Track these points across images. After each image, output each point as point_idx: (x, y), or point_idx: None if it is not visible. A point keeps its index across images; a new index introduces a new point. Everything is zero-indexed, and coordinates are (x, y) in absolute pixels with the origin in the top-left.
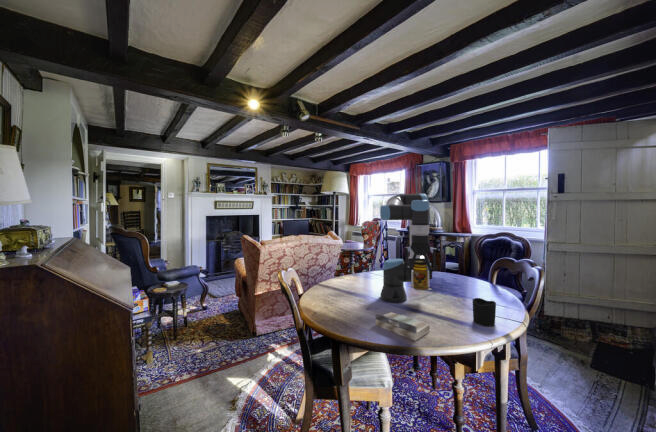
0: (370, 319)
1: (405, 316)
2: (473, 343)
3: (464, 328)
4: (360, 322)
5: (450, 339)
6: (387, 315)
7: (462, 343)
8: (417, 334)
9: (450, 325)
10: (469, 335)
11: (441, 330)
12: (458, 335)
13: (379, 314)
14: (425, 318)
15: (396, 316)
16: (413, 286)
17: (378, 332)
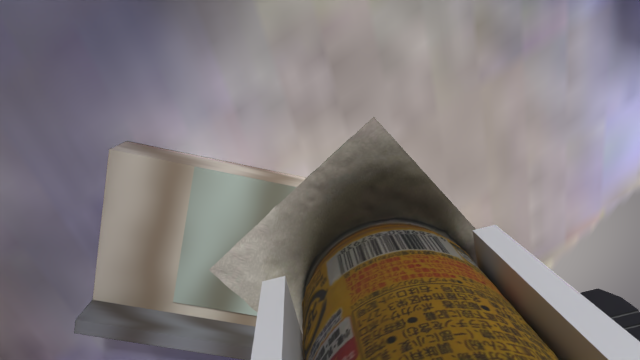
0: (33, 235)
1: (235, 178)
2: (608, 205)
3: (571, 37)
4: (13, 304)
5: (505, 225)
6: (124, 222)
7: (559, 234)
8: None
9: (491, 39)
10: (594, 122)
11: (451, 145)
12: (540, 156)
13: (104, 332)
14: (327, 12)
15: (182, 204)
16: (293, 289)
17: (167, 352)
